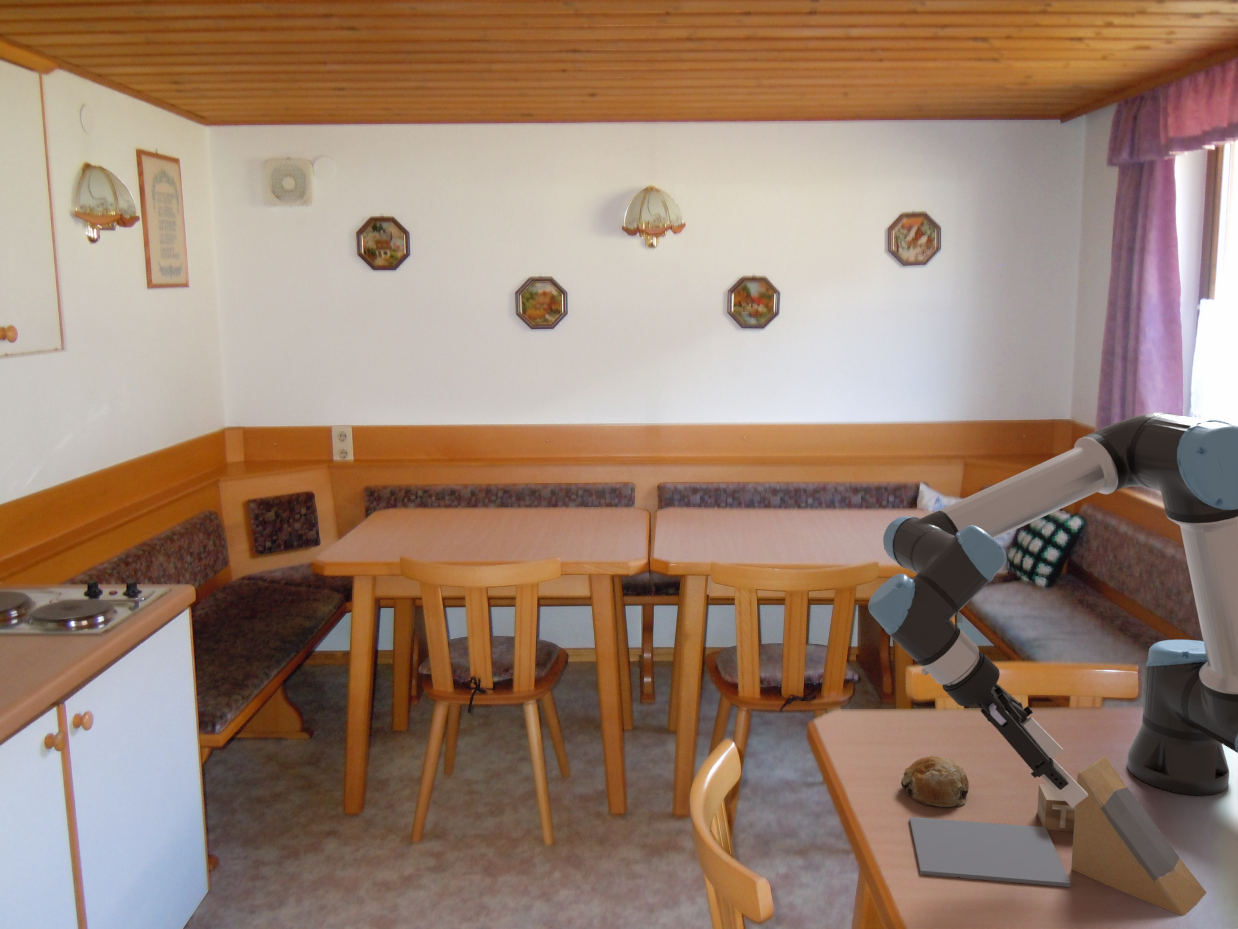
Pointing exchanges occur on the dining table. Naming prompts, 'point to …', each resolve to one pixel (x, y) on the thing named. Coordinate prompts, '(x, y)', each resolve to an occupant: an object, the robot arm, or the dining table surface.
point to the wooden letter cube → (1054, 810)
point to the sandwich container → (1127, 844)
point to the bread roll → (936, 782)
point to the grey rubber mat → (987, 851)
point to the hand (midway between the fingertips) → (1067, 776)
